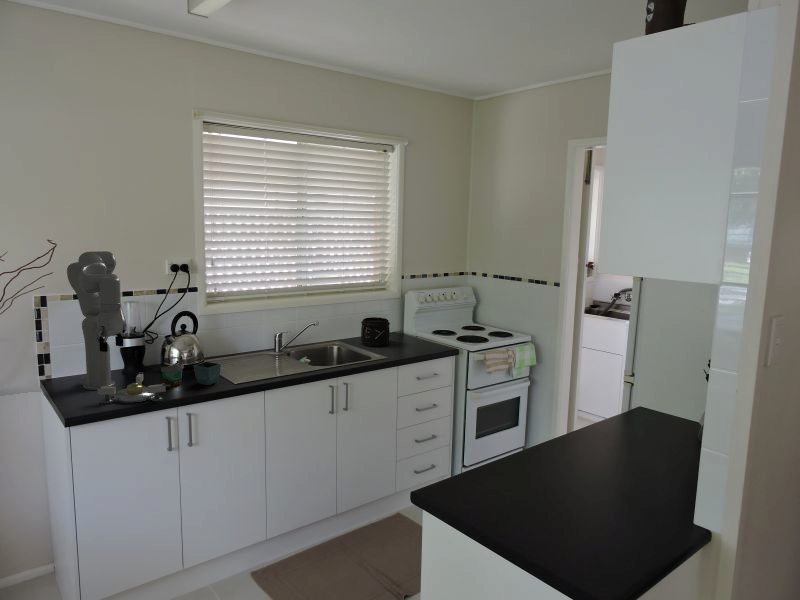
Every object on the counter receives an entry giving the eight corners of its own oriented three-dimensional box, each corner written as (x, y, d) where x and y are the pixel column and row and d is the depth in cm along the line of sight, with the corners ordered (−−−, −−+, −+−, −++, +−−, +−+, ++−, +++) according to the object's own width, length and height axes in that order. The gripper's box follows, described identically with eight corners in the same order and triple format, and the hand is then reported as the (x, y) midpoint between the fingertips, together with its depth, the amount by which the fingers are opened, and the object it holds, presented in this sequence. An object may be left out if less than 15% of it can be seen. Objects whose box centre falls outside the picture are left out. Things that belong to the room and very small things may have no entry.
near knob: (116, 398, 235) (115, 385, 234) (114, 400, 233) (113, 387, 232) (99, 398, 235) (99, 385, 234) (97, 400, 233) (97, 386, 232)
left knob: (141, 388, 249) (140, 376, 248) (136, 389, 249) (135, 376, 248) (143, 384, 255) (143, 372, 254) (139, 384, 255) (138, 372, 254)
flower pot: (209, 387, 258) (208, 368, 257) (193, 384, 261) (192, 365, 260) (221, 382, 267) (221, 363, 265) (206, 379, 270) (205, 361, 268)
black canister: (353, 344, 354) (354, 319, 352) (373, 340, 368) (374, 315, 365) (375, 349, 342) (376, 323, 340) (394, 344, 356) (395, 319, 354)
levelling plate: (98, 403, 233) (97, 389, 232) (138, 387, 255) (138, 374, 254) (141, 409, 227) (141, 395, 226) (179, 392, 249) (179, 379, 248)
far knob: (149, 399, 236) (148, 386, 235) (148, 397, 238) (148, 384, 237) (165, 397, 239) (165, 384, 239) (164, 395, 241) (164, 382, 240)
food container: (174, 390, 253) (173, 368, 251) (161, 388, 254) (161, 366, 253) (189, 382, 265) (189, 361, 263) (177, 381, 266) (177, 360, 264)
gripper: (115, 303, 240) (117, 343, 242) (86, 310, 223) (88, 353, 226) (132, 304, 239) (133, 344, 241) (104, 311, 222) (105, 354, 224)
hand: (111, 348), depth 233 cm, fingers open, 9 cm apart
